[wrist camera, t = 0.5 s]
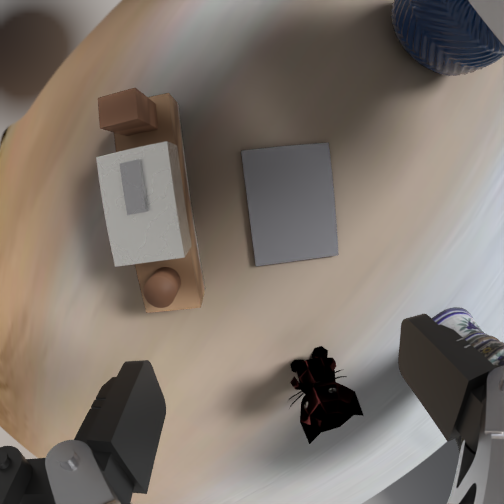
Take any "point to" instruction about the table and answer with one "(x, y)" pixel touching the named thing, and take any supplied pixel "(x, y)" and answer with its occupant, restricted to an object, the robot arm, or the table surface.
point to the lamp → (451, 33)
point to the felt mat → (290, 202)
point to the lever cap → (144, 204)
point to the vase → (472, 338)
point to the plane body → (169, 129)
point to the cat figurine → (322, 395)
